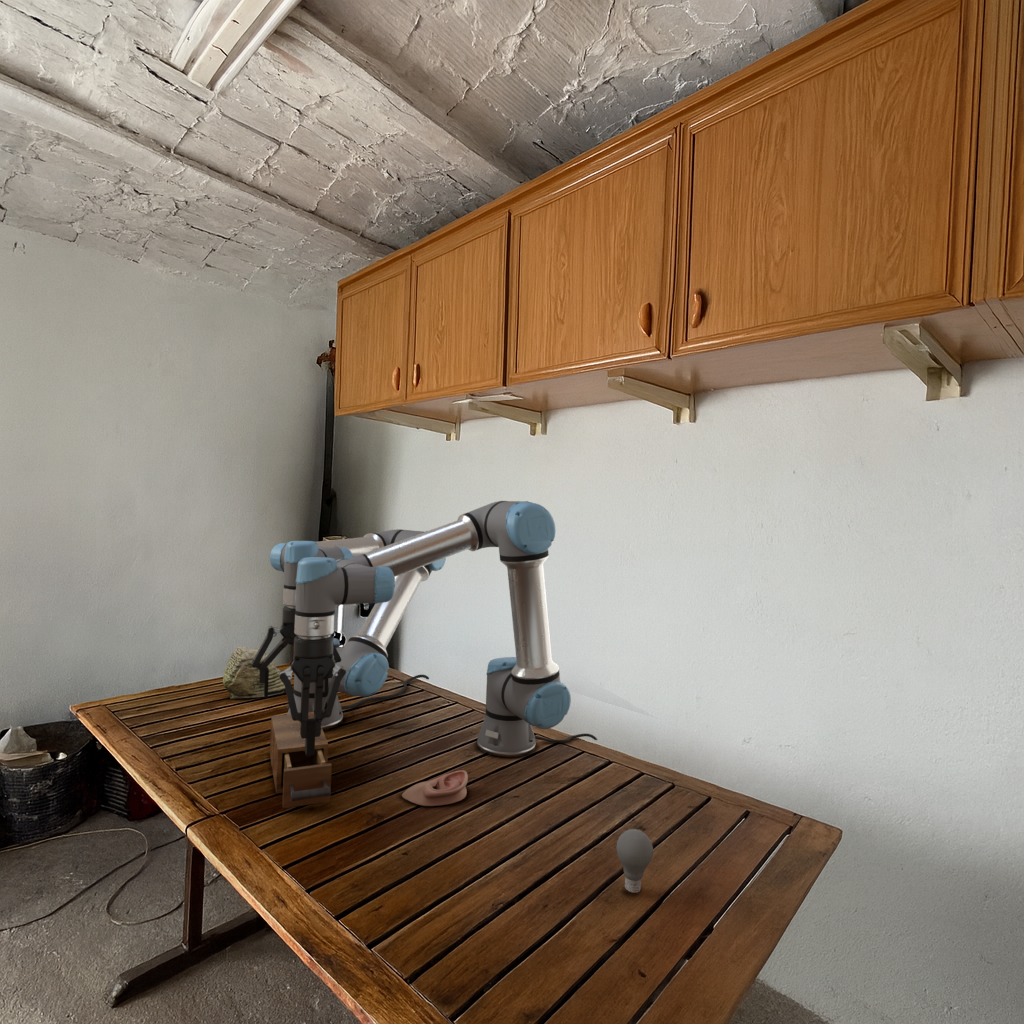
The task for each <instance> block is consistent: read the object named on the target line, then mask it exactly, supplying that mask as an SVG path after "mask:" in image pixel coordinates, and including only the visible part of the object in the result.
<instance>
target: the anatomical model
mask: <svg viewBox="0 0 1024 1024" xmlns="http://www.w3.org/2000/svg"><path fill="white" fill-rule="evenodd" d="M468 781H469V776H468V772H467V771H466V770H464V769H462V770H461V769H459V770H455V771H452V772H449V773H445V774H443V775H441V776H438V777H435V778H433V779H430V780H428V781H421V782H418V783H416V784H414V785H412V786H410V787H408V788H407V789H405V790H404V791H403V792H402V794H401V797H402V798H403V799H404V800H406V801H408V802H410V803H412V804H415V805H418V806H422V807H435V806H444V805H451V804H454V803H457V802H460V801H462V800H464V799H465V798H466V797H467V793H468V792H467V791H468V790H467V787H466V786H467V784H468Z"/></svg>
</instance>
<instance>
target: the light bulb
mask: <svg viewBox="0 0 1024 1024" xmlns="http://www.w3.org/2000/svg"><path fill="white" fill-rule="evenodd" d="M615 849H616V854H617V857H618V859H619V861H620V863H621V865H622V867H623V873H624V874H623V875H624V876H625V878H624V888H625V890H627V891H628V892H630V893H634V894H635V893H639V892H640V891H641V889H642V887H641V886H642V879H643V877H644V875H645V871H646V868H647V867H648V866H649V864H650V863H651V861H652V859H653V855H654V847H653V843H652V841H651V838H649V836H648V835H647V834H646V833H645V832H643V831H642V830H641V829H636V828H629V829H627V830H625V831H623V832H622V833H621V834H620V835H619V837H618V839H617V841H616V847H615Z"/></svg>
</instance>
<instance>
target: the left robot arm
mask: <svg viewBox="0 0 1024 1024" xmlns="http://www.w3.org/2000/svg"><path fill="white" fill-rule="evenodd" d="M427 531H428V530H424V531H422V530H410V529H398V528H397V529H390V530H383V531H382V530H381V531H376V532H369V533H366V534H364V535H363V536H361V537H351V538H340V539H330V540H321V541H314V540H313V541H312V540H291V541H288V542H281V543H277V544H275V546H273V548H272V549H271V551H270V555H269V562H270V565H271V567H272V568H273V569H274V570H275V571H279V572H283V593H282V604H283V605H284V606H283V607H282V619H281V620H282V621H281V622H282V623H281V626H280V627H279V626H278V627H275V626H273V625H269V626H268V627H267V631H266V636H265V638H264V639H263V641H262V643H261V645H260V647H258V648H259V650H258V652H257V654H256V655H255V657H254V659H253V661H252V667H253V668H258V669H259V670H260V674H259V681H260V683H264V697H263V698H264V699H268V698H269V696H268V681H269V668H268V667H267V666H268V665H269V664H270V663H271V662H272V661H274V660H275V659H276V657H278V655H280V653H281V652H282V651H283V650H284V649H285V648H286V647H287V646H288V645H290V646H294V638H295V637H296V636H297V635H296V634H295V633H294V629H295V612H296V577H297V568H298V562H299V561H300V560H301V559H303V558H307V557H328V558H334V559H335V560H338V559H351V558H353V557H356V556H359V555H363V554H365V553H368V552H370V551H373V550H376V549H379V548H382V547H384V546H387V545H390V544H393V543H396V542H398V541H401V540H404V539H407V538H410V537H413V536H415V535H418V534H421V533H424V532H427ZM446 560H447V557H446V558H443V559H441V560H438V561H436V562H433V563H430V564H428V565H425V566H422V567H420V568H417V569H415V570H412V571H409V572H407V573H404V574H401V575H399V576H396V577H395V592H394V595H393V597H392V599H391V600H390V601H388V602H382V603H377V604H375V603H374V605H373V607H372V608H371V611H370V613H369V614H368V616H367V618H366V620H365V622H364V623H363V625H362V626H361V628H360V630H359V632H358V634H354V635H352V636H350V637H349V638H348V640H347V642H346V644H345V645H344V646H340V644H341V643H340V640H339V639H338V638H335V637H333V638H334V642H333V658H334V660H335V664H336V665H338V666H340V667H343V668H344V669H345V671H346V674H345V675H344V677H343V678H342V680H341V681H340V685H339V688H338V692H337V693H342V694H346V695H349V696H353V697H361V698H364V699H361V700H359V701H356V702H354V703H352V704H347V705H341V702H340V699H339V695H338V694H337V695H336V699H335V703H334V706H333V710H332V713H331V716H330V717H326V718H324V719H323V720H322V722H321V727H322V730H323V732H325V731H329V730H332V729H335V728H337V727H339V726H340V725H342V723H343V722H344V714H343V710H349V709H353V708H356V707H358V706H360V705H362V704H364V703H368V702H371V701H372V702H373V701H380V700H388V699H392V698H395V697H398V696H400V695H402V694H403V693H404V692H405V691H406V690H407V688H408V685H407V684H408V683H411V682H412V681H414V680H417V679H420V678H424V679H425V680H430V677H429V676H428V675H426V674H417V675H414V676H412V677H410V678H408V679H406V680H405V681H404V682H403V688H402V689H401V690H399V691H397V692H396V693H393V694H389V695H380V696H374V695H375V694H376V693H377V692H379V691H380V690H381V688H382V687H383V686H384V684H385V683H386V681H387V678H388V675H389V672H388V670H389V668H390V666H389V665H390V664H389V662H388V657H389V654H388V651H387V647H388V645H389V643H390V642H391V639H392V638H393V635H394V633H395V632H396V629H397V628H398V626H399V624H400V622H401V620H402V618H403V616H404V615H405V612H406V610H408V609H407V608H408V607H409V605H410V603H411V602H412V599H413V597H414V596H415V594H416V592H417V589H418V588H419V586H420V583H421V582H425V581H427V580H428V579H429V577H430V576H431V574H432V572H437V571H440V570H442V569H443V568H444V566H445V564H446ZM278 634H280V635H281V636H282V638H281V639H280V640H279V642H278V643H277V644H276V645H275V646H274V648H273V649H272V650H271V651H270V652H269V653H268V654H267V655H268V656H267V657H266V658H265V659H264V660H263V661H262V662H260V660H261V659H262V657H263V655H264V653H267V652H266V651H267V650H268V648H269V646H270V644H271V643H272V641H273V639H274V637H276V636H277V635H278ZM332 672H333V669H332V671H331V672H330V673H329V675H328V676H327V677H326V679H325V680H324V681H323V697H322V710H324V706H325V703H326V699H327V696H328V692H329V689H330V685H331V681H332V678H333V674H332ZM301 690H302V682H301V681H300V680H299V678H298V677H297V676H296V675H295V673H294V672H293V694H294V698H295V703H296V707H297V712H299V713H301ZM372 695H373V696H372ZM370 696H372V697H370ZM314 699H315V682H312V683H310V689H309V710H308V713H309V712H314ZM286 709H288V711H287V713H286V715H287V714H291V712H290V707H289V703H286Z"/></svg>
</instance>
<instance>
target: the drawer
mask: <svg viewBox="0 0 1024 1024" xmlns="http://www.w3.org/2000/svg"><path fill="white" fill-rule="evenodd" d="M332 767H333V766H332V762H328V763H327V764H325V759H324V757H323V754H322V751H321V749H315V753H314V755H312V756H306V753H305V751H297V752H288V753H282V780H283V793H282V803H281V804H282V809H290V808H296V807H302V806H309V805H315V804H323V803H328V802H329V803H330V802H331V790H332Z"/></svg>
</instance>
